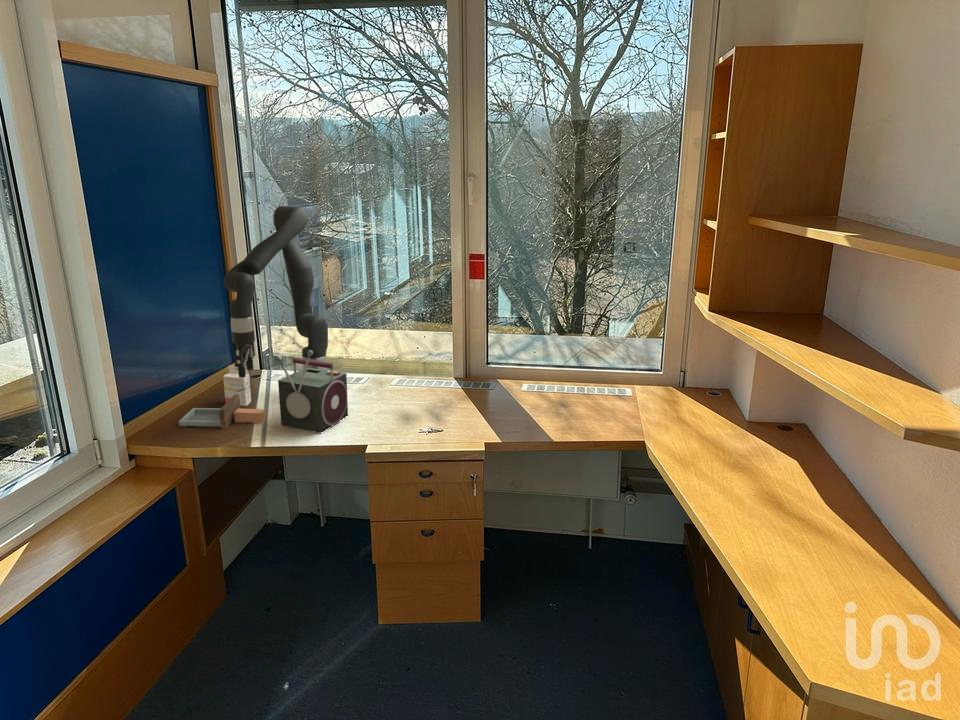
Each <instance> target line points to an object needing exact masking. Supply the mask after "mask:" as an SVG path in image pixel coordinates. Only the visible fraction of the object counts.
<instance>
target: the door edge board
mask: <svg viewBox="0 0 960 720" xmlns="http://www.w3.org/2000/svg"><path fill="white" fill-rule="evenodd" d="M220 408H221V409H220V410H219V412H220V422H221V427H220V428H221V430H223V429H225V430H226V429H227V428H228V427H229V426H230V425H231V423H233V421H235V417H234V412H235V411H236V410H237V409H238V408H241V406H240V397H239V394H235V395H234V396H233V397H232V398H231V399H230V400H229V401H228V402H227V403H226V404H224V405H222V407H220Z"/></svg>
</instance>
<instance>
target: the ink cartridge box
mask: <svg viewBox="0 0 960 720" xmlns="http://www.w3.org/2000/svg"><path fill="white" fill-rule="evenodd" d="M227 368H228V369H227V370H228V373H226V374H224V375H223V376H222V378H223V391H224V400H225V404H226V403H227V402H228V401H229V400H230V399H231V398H232V397H233V396H234V395H235V394H239V397H240V407H247V406H248V405H249V404H250V403H251V402H252V393H251V380H250V379H251V378H250V373H249V370H247V365H245V372H246V376H245V377H239V373H238V367H235V365H231V364H229V365H228V366H227ZM225 404H224V405H225Z"/></svg>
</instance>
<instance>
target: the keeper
mask: <svg viewBox="0 0 960 720" xmlns="http://www.w3.org/2000/svg"><path fill="white" fill-rule="evenodd" d="M221 408H222V407H219V408H212V407H211V408H210V407H204V408H203V407H193V408H192V409H191V410H190V411H188V412H187V413H186V414H185V415H184V416H183V417H181V418H180V419H179V420H178V426H179V427H187V426H196V428H197V427H201V428H203V427H204V428H221V422H220V412H219V410H220V409H221Z"/></svg>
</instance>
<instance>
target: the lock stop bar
mask: <svg viewBox="0 0 960 720" xmlns="http://www.w3.org/2000/svg"><path fill="white" fill-rule="evenodd" d="M266 412H267V411H266V409H265V408H264V409H263V408H241V407H240V408H238V409H237V410H236V411H235V412H234V417H235V419H234V423H245V422H252V424H253V423H254V424H264V422H265V421H266V420H267V413H266Z"/></svg>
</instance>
